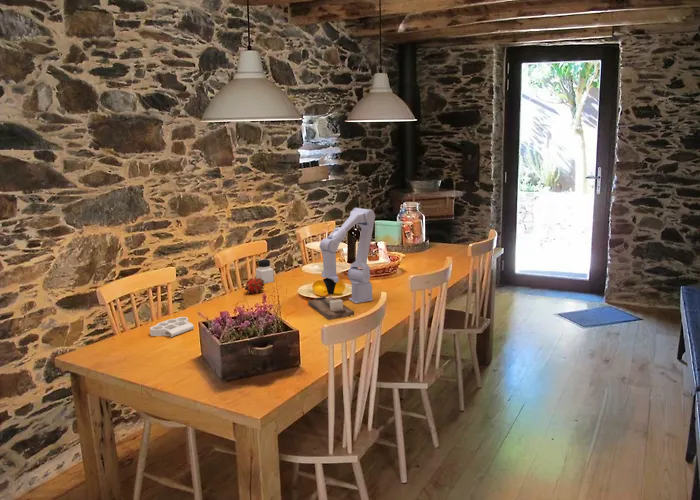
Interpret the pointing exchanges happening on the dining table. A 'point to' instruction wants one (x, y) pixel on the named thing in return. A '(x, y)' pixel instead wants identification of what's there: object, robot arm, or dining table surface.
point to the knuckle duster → (171, 327)
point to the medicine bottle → (265, 271)
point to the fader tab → (336, 305)
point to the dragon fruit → (254, 285)
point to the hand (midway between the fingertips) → (330, 293)
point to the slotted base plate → (324, 308)
